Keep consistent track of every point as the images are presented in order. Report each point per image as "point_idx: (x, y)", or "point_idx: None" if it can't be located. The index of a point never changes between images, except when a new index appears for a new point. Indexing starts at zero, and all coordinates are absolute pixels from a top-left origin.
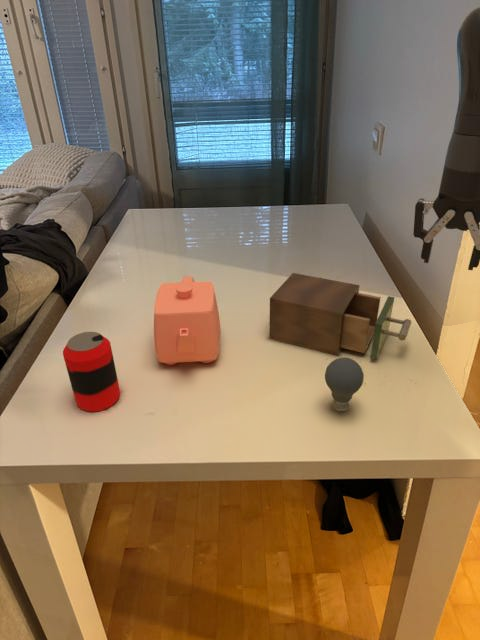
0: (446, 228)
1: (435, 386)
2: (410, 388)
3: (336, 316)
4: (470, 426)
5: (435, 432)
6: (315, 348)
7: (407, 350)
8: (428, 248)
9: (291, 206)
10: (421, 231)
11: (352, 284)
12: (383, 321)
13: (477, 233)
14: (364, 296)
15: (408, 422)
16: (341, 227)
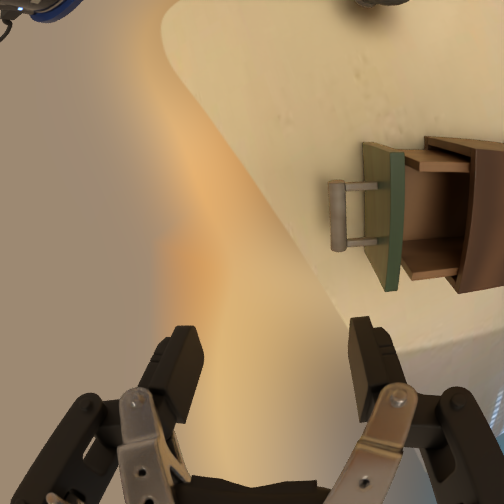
0: (313, 480)
1: (244, 127)
2: (281, 98)
3: (479, 147)
4: (172, 63)
5: (213, 21)
6: (460, 138)
7: (318, 212)
8: (374, 364)
9: None
10: (440, 425)
11: (470, 289)
12: (390, 169)
13: (126, 456)
14: (441, 268)
15: (256, 18)
16: None
